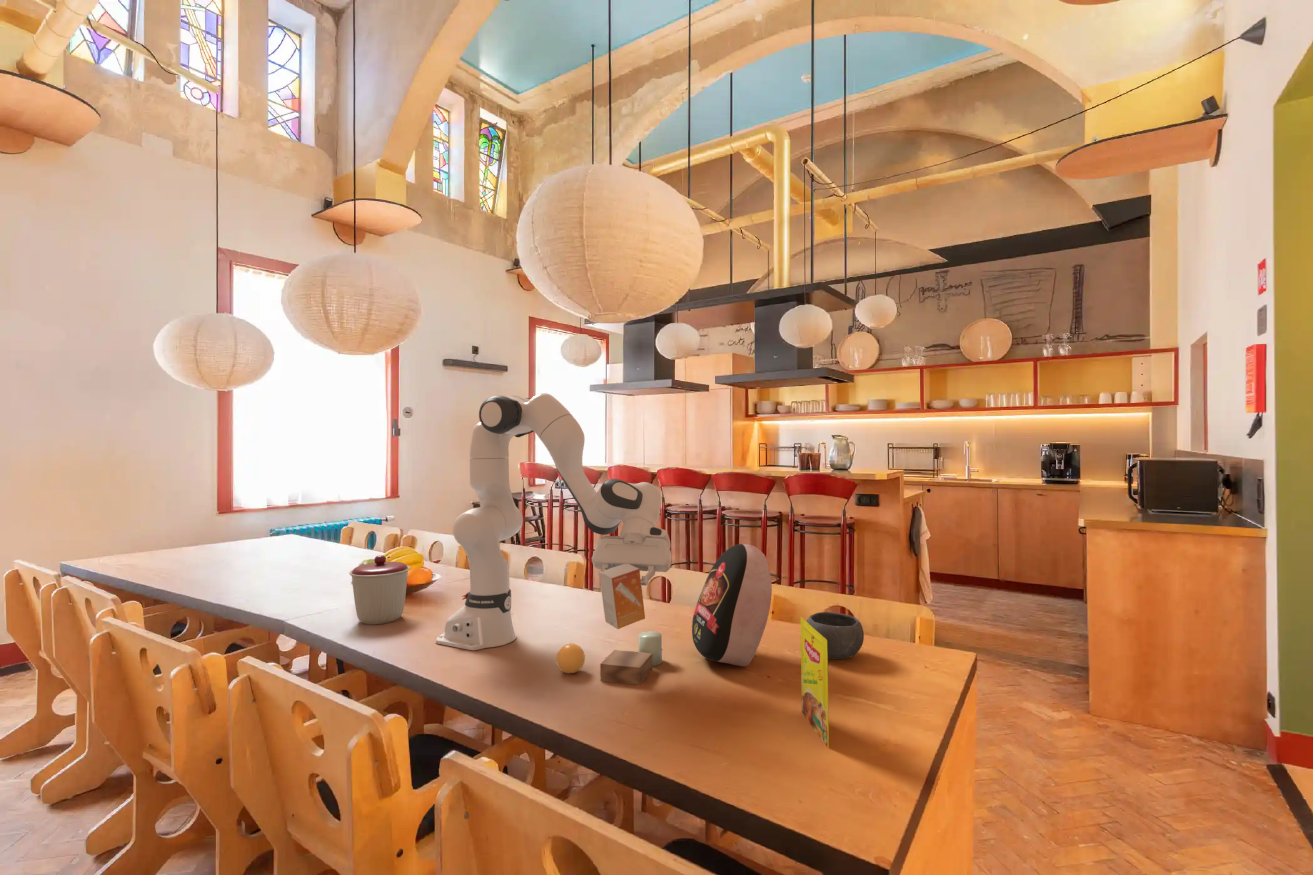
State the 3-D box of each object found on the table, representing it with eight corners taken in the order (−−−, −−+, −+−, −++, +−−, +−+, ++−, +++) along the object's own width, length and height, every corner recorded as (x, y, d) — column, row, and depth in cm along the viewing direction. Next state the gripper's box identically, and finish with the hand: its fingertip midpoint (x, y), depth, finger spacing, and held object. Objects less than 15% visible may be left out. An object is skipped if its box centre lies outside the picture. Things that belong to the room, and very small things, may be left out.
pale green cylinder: (635, 664, 155) (635, 637, 155) (642, 656, 161) (642, 630, 161) (658, 666, 154) (658, 639, 154) (664, 658, 159) (664, 632, 160)
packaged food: (683, 648, 167) (681, 539, 167) (749, 642, 172) (748, 536, 172) (709, 678, 146) (708, 553, 146) (784, 670, 150) (782, 549, 151)
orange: (551, 676, 148) (551, 647, 148) (564, 665, 155) (563, 638, 155) (578, 679, 146) (578, 649, 146) (589, 668, 153) (589, 640, 153)
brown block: (600, 680, 145) (600, 663, 145) (614, 665, 155) (614, 649, 155) (640, 684, 142) (640, 667, 142) (652, 669, 152) (652, 653, 152)
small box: (618, 630, 144) (611, 578, 142) (604, 622, 149) (598, 571, 147) (646, 618, 148) (639, 567, 146) (632, 611, 153) (626, 562, 152)
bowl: (867, 650, 164) (866, 613, 164) (860, 670, 150) (860, 629, 150) (811, 643, 170) (810, 608, 170) (800, 661, 156) (799, 622, 156)
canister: (396, 609, 210) (396, 548, 210) (420, 619, 198) (419, 554, 198) (341, 620, 197) (340, 555, 197) (362, 632, 185) (361, 563, 185)
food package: (799, 711, 127) (798, 616, 128) (804, 711, 127) (803, 616, 128) (825, 748, 112) (824, 640, 112) (831, 747, 112) (830, 639, 112)
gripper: (596, 528, 158) (582, 573, 149) (672, 530, 153) (662, 578, 143) (602, 542, 163) (589, 587, 153) (676, 545, 157) (667, 592, 148)
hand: (625, 583), depth 148 cm, fingers closed on small box, 8 cm apart
